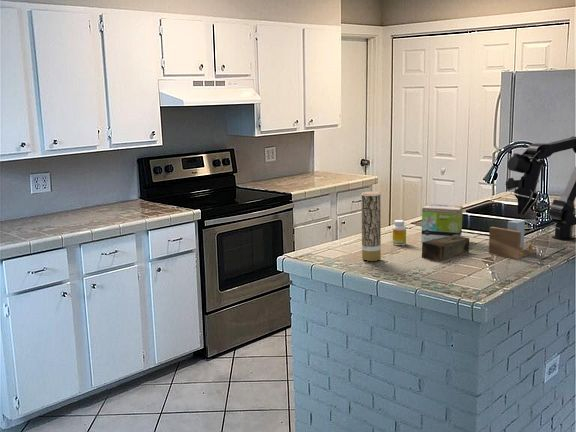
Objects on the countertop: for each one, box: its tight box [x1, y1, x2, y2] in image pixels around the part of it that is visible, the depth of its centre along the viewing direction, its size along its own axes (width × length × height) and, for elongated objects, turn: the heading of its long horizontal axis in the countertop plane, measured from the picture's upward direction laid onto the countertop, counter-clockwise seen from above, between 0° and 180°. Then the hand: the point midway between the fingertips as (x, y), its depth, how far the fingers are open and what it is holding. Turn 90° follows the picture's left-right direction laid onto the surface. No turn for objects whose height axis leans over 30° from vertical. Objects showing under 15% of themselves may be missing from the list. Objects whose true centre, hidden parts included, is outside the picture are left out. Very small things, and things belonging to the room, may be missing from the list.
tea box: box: [421, 203, 464, 243], centre depth 249 cm, size 15×10×15 cm
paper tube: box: [361, 191, 382, 262], centre depth 224 cm, size 7×7×25 cm
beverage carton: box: [421, 235, 470, 262], centre depth 229 cm, size 8×19×7 cm, turn 127°
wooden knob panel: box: [488, 226, 537, 260], centre depth 228 cm, size 13×12×10 cm
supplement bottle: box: [392, 219, 407, 246], centre depth 247 cm, size 5×5×10 cm
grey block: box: [507, 219, 526, 250], centre depth 228 cm, size 5×4×12 cm
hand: (521, 214), depth 240 cm, fingers open, 9 cm apart
